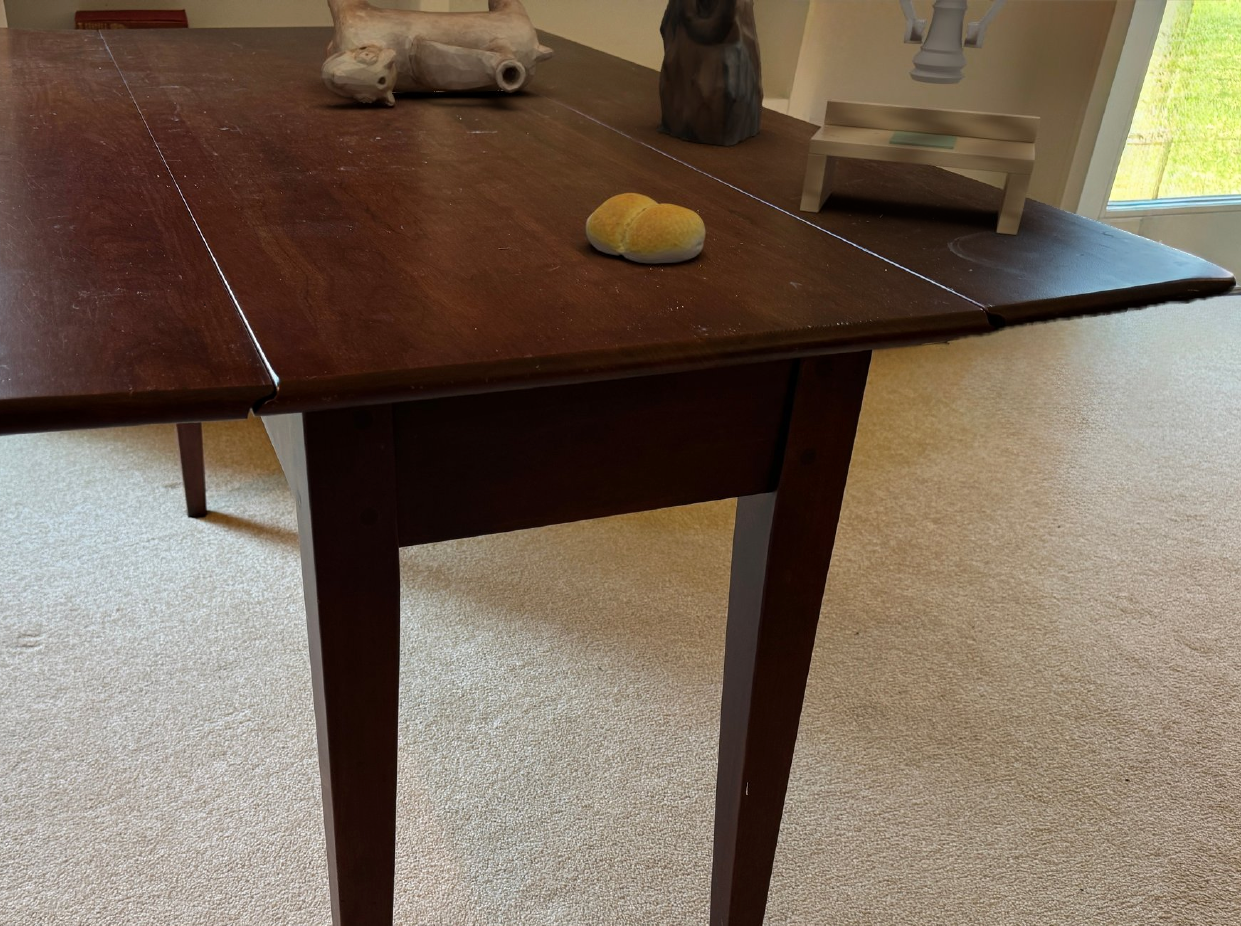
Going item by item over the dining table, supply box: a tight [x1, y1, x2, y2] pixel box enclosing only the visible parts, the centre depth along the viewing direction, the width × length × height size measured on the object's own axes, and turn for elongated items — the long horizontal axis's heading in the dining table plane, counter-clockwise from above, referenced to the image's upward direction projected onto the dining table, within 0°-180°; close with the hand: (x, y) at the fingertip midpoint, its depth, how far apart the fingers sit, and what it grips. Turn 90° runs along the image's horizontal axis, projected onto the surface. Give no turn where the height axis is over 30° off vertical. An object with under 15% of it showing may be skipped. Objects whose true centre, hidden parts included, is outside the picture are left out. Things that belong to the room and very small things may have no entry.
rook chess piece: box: [908, 0, 970, 85], centre depth 93 cm, size 4×4×8 cm
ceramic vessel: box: [320, 0, 556, 104], centre depth 146 cm, size 13×31×25 cm
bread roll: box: [585, 192, 707, 264], centre depth 87 cm, size 8×9×4 cm
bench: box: [799, 98, 1041, 236], centre depth 99 cm, size 18×9×8 cm, turn 69°
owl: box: [656, 0, 765, 147], centre depth 125 cm, size 13×13×20 cm
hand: (942, 45), depth 94 cm, fingers closed on rook chess piece, 3 cm apart
